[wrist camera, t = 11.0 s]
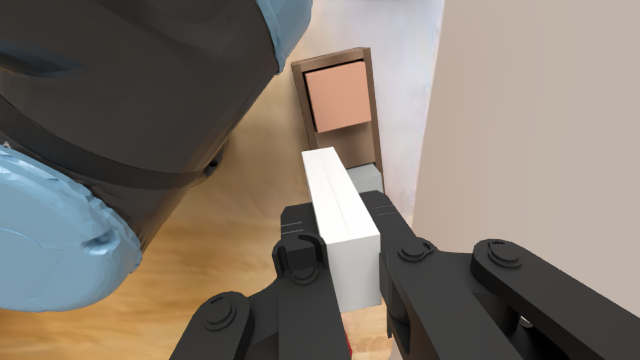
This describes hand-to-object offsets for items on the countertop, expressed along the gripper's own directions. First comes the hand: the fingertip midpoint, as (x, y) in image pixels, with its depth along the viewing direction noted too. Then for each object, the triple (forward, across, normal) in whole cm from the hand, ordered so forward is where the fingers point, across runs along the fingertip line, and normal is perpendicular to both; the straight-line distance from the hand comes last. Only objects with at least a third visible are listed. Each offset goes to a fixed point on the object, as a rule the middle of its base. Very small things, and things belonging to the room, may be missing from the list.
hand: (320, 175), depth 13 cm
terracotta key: (+22, +5, 0) cm, 22 cm away
